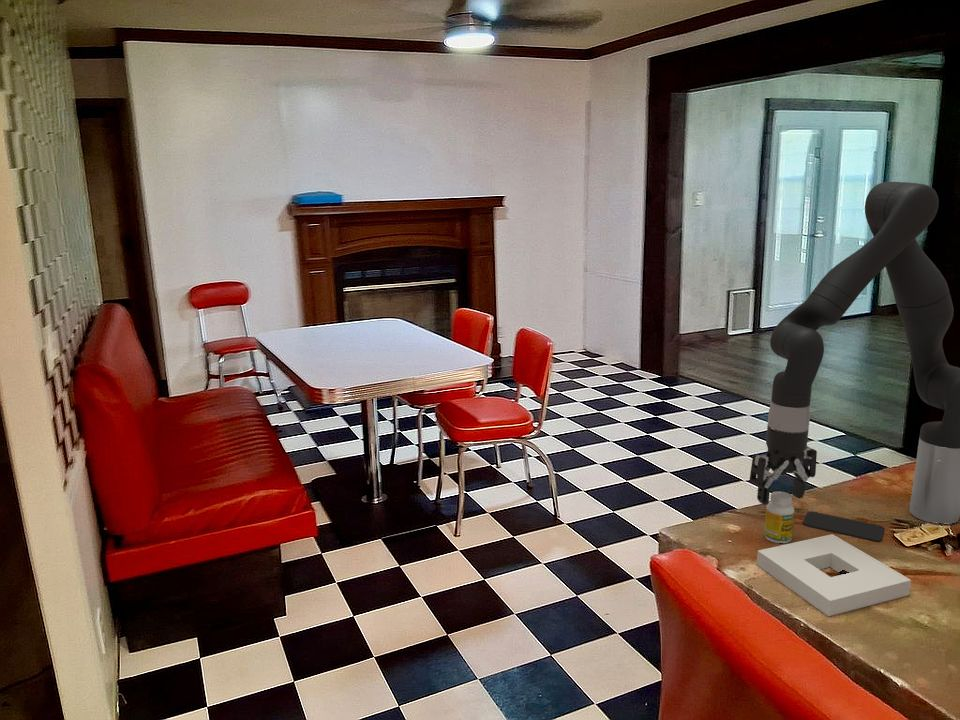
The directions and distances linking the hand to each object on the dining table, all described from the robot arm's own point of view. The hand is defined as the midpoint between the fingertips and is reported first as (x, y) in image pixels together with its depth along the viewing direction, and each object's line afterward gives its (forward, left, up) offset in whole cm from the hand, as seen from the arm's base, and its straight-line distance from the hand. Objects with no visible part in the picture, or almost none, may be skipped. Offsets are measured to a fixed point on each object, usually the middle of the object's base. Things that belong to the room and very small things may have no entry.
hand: (780, 500), depth 146 cm
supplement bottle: (0, 0, -9) cm, 9 cm away
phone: (-16, +1, -9) cm, 19 cm away
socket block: (+2, +16, -9) cm, 18 cm away
